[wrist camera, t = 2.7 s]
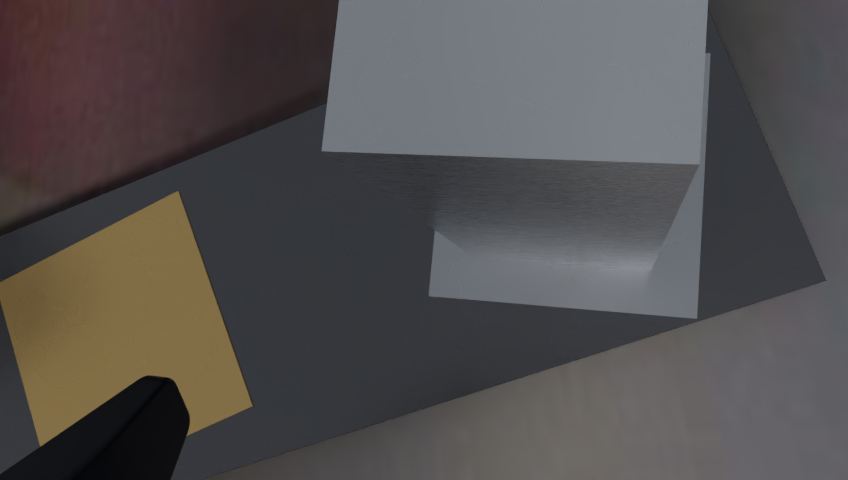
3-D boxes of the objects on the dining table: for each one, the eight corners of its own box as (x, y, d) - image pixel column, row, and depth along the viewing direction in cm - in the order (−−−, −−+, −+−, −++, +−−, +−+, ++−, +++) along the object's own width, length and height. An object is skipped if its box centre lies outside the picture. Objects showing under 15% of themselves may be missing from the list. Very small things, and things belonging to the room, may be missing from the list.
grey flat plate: (682, -30, 23) (685, -45, 22) (818, 283, 20) (826, 280, 20) (-22, 255, 27) (-42, 252, 27) (28, 534, 25) (8, 540, 24)
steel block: (651, 269, 21) (699, 164, 9) (473, 257, 22) (321, 151, 11) (661, 95, 21) (718, -206, 10) (488, 93, 23) (359, -177, 11)
